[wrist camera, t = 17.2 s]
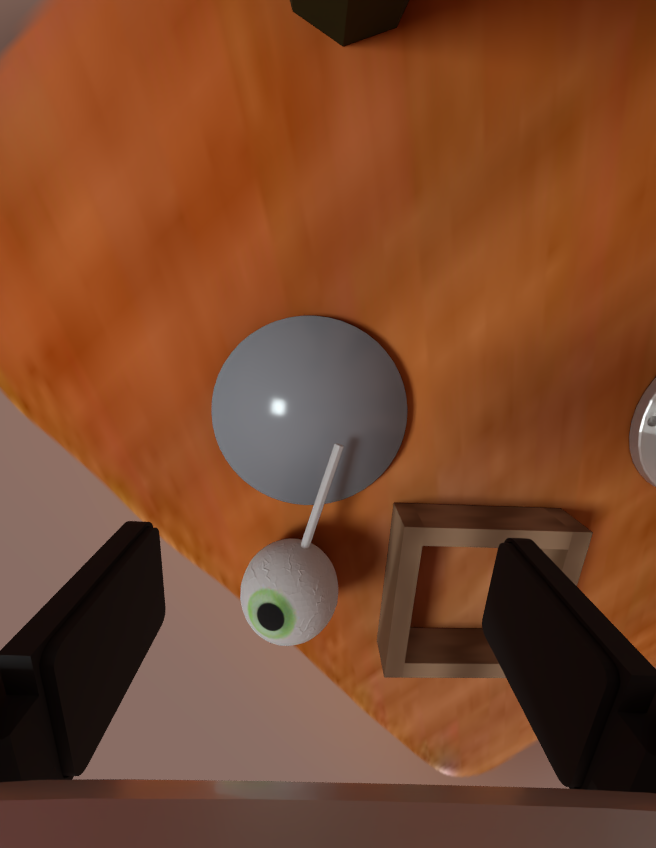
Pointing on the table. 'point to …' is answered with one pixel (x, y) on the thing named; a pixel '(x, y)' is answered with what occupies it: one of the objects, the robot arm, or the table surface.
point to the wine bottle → (350, 17)
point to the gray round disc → (309, 408)
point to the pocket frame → (459, 528)
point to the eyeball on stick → (292, 581)
